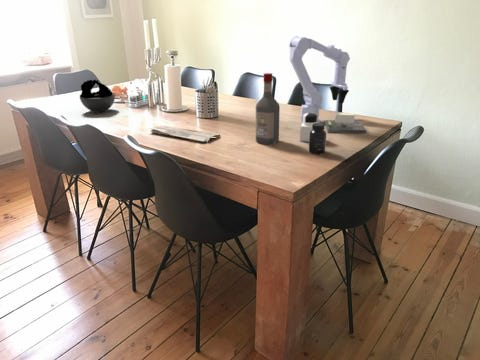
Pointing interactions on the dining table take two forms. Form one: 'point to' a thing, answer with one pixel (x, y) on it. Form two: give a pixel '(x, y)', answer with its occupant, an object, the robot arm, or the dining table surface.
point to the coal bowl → (96, 96)
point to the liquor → (267, 115)
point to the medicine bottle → (307, 126)
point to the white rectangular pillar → (344, 118)
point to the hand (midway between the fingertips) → (337, 101)
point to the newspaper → (183, 133)
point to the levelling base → (344, 127)
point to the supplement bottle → (317, 139)
